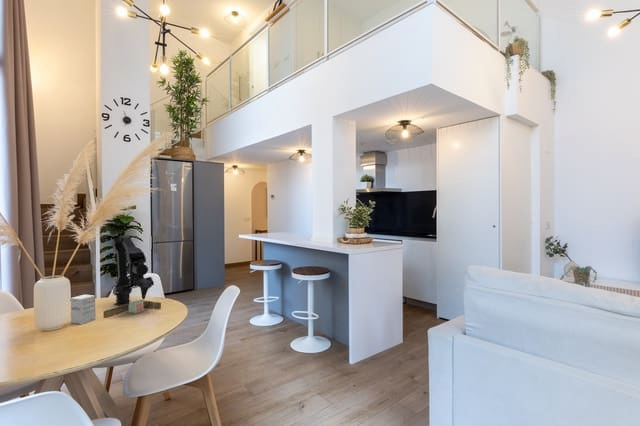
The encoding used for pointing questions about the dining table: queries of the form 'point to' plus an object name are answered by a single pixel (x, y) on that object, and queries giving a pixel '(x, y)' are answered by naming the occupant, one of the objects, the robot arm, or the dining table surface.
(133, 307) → the sage cube
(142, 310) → the tile
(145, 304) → the block
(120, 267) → the robot arm
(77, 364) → the dining table surface
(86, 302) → the supplement box
